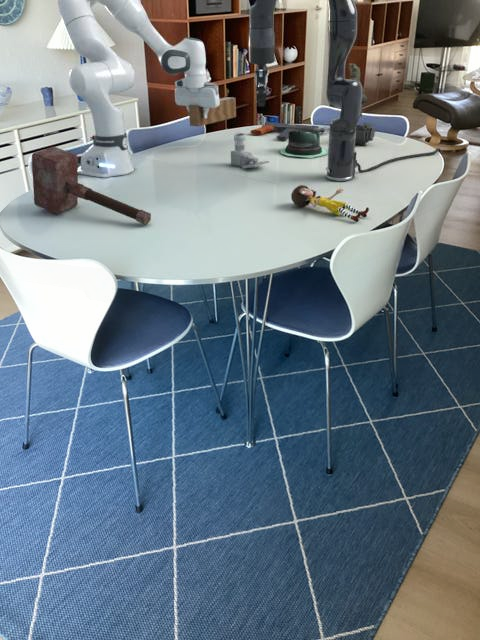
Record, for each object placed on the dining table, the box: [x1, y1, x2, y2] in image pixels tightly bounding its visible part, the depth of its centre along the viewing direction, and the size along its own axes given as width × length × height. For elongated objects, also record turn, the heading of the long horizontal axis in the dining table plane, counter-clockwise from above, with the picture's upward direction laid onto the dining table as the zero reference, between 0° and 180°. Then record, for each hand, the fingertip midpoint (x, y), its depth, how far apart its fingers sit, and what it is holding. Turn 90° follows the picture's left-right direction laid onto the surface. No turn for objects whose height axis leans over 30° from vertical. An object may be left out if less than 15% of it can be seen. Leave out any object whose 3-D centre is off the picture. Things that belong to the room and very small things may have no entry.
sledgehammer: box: [31, 146, 152, 226], centre depth 169 cm, size 17×10×40 cm
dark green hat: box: [279, 128, 328, 159], centre depth 234 cm, size 15×19×20 cm
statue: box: [348, 62, 368, 125], centre depth 262 cm, size 11×9×30 cm
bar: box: [188, 96, 237, 127], centre depth 239 cm, size 26×5×8 cm, turn 142°
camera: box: [230, 132, 270, 169], centre depth 214 cm, size 9×12×15 cm
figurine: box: [290, 184, 370, 223], centre depth 170 cm, size 13×8×25 cm
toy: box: [355, 122, 376, 146], centre depth 244 cm, size 9×9×15 cm
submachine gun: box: [250, 121, 326, 141], centre depth 264 cm, size 32×3×25 cm
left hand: (198, 117), depth 233 cm, fingers closed on bar, 5 cm apart
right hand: (261, 103), depth 171 cm, fingers open, 8 cm apart
